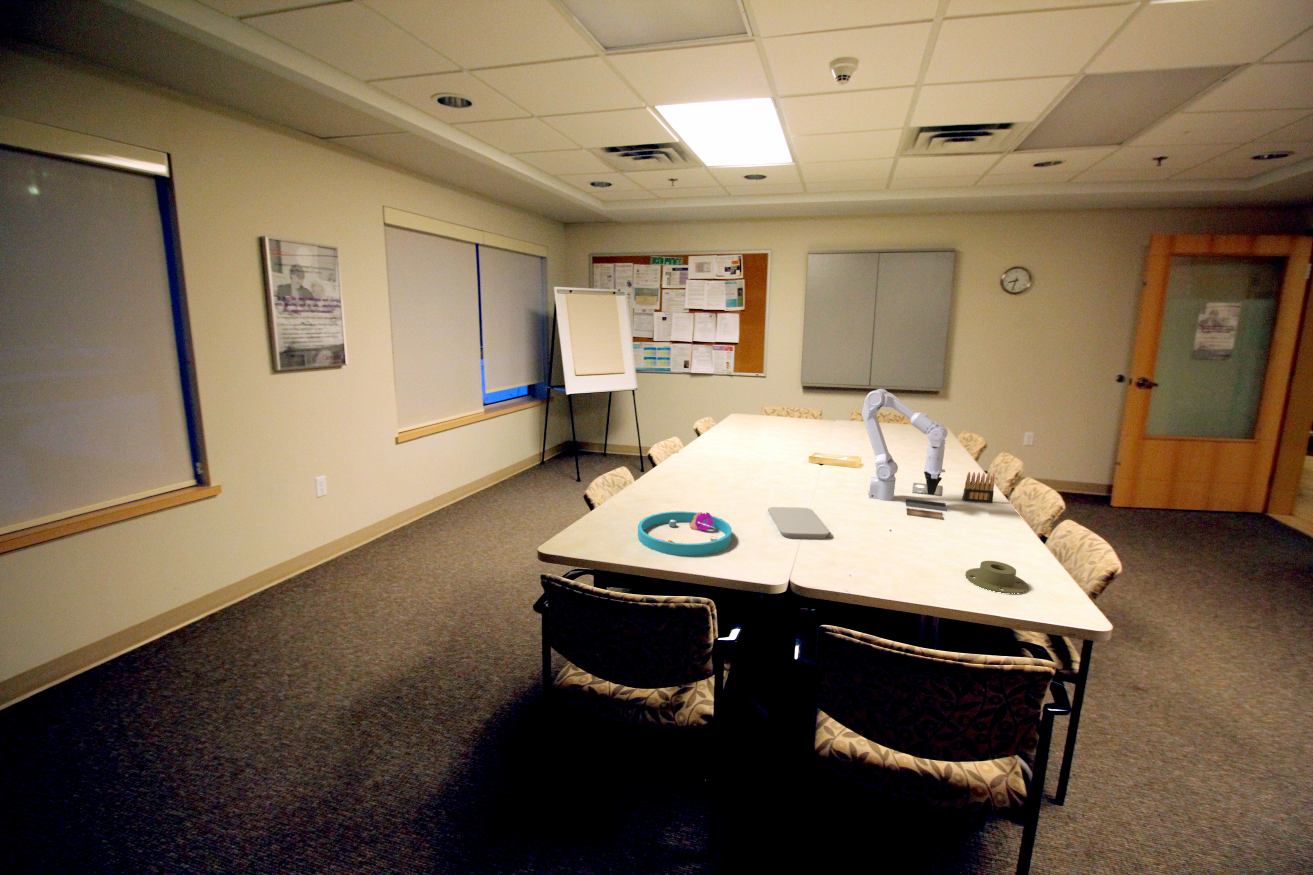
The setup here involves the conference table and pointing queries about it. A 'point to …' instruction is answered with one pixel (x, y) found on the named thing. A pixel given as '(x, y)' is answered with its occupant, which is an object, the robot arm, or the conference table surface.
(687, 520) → the teal round ring
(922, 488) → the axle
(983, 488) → the ammunition clip
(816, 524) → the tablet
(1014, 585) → the flange
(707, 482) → the conference table surface
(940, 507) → the cradle
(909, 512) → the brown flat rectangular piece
